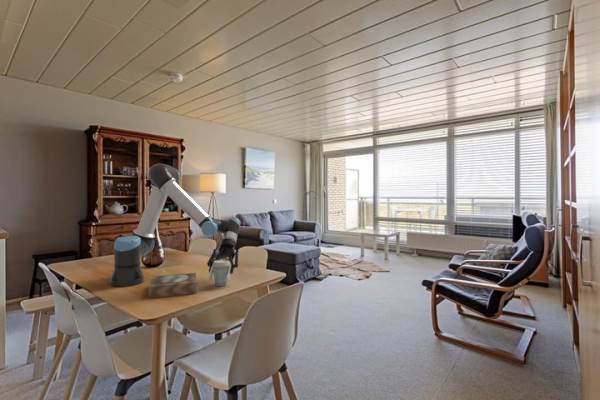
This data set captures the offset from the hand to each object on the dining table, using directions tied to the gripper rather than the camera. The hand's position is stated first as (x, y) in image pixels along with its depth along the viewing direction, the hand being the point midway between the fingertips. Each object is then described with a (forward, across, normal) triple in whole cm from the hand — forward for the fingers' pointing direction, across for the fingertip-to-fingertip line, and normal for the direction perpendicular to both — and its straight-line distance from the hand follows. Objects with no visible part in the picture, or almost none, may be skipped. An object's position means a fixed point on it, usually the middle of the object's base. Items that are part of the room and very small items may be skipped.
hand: (218, 278), depth 148 cm
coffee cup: (+1, 0, -5) cm, 5 cm away
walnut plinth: (+8, +20, +2) cm, 21 cm away
